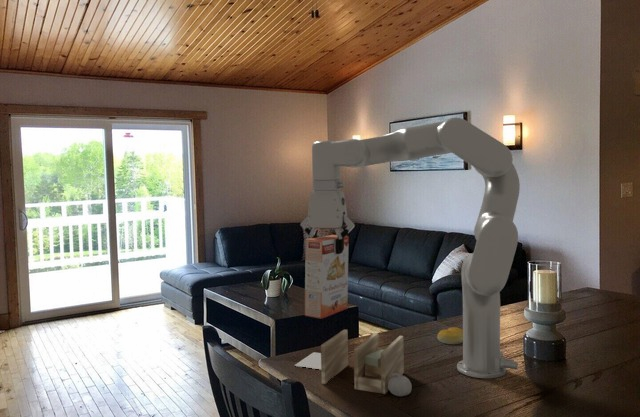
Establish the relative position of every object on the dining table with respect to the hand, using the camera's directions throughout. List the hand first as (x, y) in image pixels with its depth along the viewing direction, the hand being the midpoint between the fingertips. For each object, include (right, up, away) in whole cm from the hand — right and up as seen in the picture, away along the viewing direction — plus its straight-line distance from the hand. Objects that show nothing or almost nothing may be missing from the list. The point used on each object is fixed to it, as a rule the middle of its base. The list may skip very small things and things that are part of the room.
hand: (327, 252), depth 152 cm
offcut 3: (+13, -33, -9) cm, 36 cm away
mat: (-2, -32, +6) cm, 32 cm away
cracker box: (0, -17, +1) cm, 17 cm away
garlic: (+17, -33, -18) cm, 41 cm away
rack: (+9, -32, -7) cm, 34 cm away
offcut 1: (+13, -27, -9) cm, 32 cm away
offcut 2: (+13, -30, -9) cm, 34 cm away
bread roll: (+39, -30, +23) cm, 55 cm away
